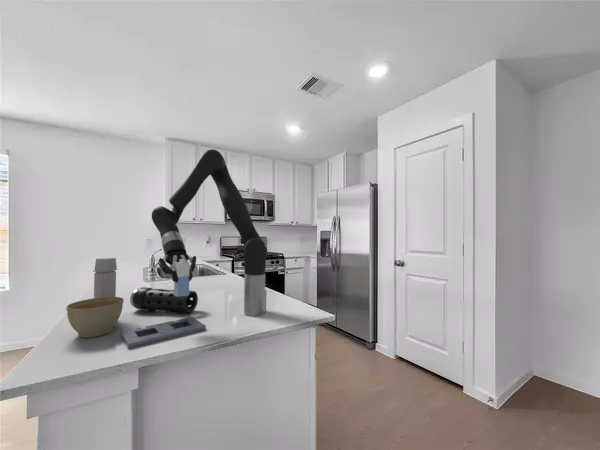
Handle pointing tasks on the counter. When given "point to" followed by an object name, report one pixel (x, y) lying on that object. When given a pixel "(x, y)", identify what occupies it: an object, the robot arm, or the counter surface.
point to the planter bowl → (94, 315)
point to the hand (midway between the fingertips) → (183, 280)
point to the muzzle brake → (163, 300)
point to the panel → (161, 332)
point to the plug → (182, 278)
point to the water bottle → (105, 277)
